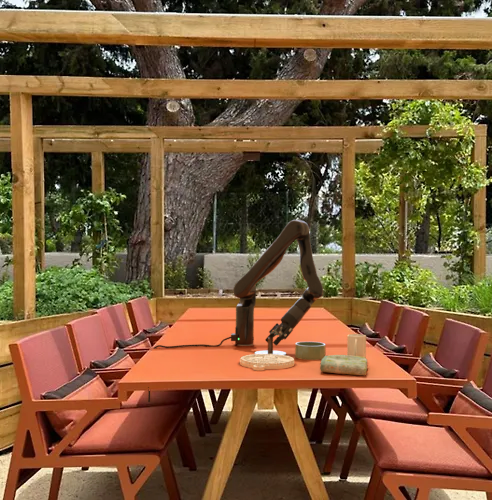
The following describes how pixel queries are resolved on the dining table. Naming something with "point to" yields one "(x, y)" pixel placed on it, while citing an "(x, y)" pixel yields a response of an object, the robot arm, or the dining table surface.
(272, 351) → the lid
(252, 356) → the medallion
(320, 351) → the bowl
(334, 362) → the towel
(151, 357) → the dining table surface
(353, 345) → the mug
